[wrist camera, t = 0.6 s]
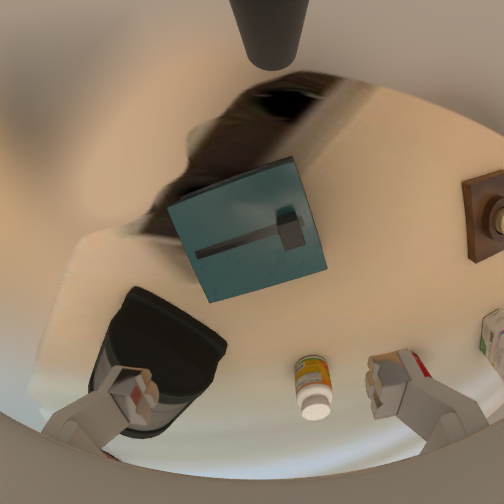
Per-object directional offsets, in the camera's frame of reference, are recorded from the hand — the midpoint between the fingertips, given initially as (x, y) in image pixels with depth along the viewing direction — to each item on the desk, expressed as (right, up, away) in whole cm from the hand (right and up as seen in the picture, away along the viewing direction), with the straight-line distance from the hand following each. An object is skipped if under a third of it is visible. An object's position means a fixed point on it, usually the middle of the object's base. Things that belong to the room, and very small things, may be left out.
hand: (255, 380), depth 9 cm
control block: (+36, +10, +22) cm, 43 cm away
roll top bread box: (-16, -12, +35) cm, 40 cm away
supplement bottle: (+9, -14, +33) cm, 37 cm away
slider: (+4, +7, +19) cm, 21 cm away
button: (+35, +9, +19) cm, 41 cm away
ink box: (+46, -10, +29) cm, 55 cm away
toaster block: (0, +8, +26) cm, 27 cm away
